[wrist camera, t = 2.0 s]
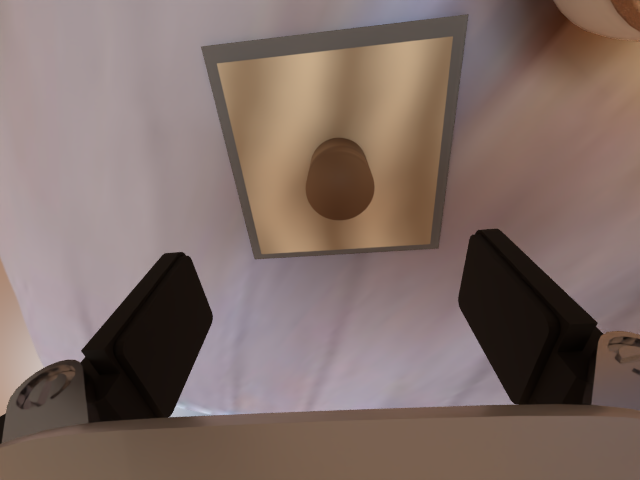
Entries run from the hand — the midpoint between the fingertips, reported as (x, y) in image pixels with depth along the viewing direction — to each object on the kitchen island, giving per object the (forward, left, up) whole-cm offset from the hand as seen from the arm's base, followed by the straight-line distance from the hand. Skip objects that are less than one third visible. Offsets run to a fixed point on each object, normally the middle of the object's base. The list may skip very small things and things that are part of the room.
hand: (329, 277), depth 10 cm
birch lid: (-1, 0, -14) cm, 14 cm away
